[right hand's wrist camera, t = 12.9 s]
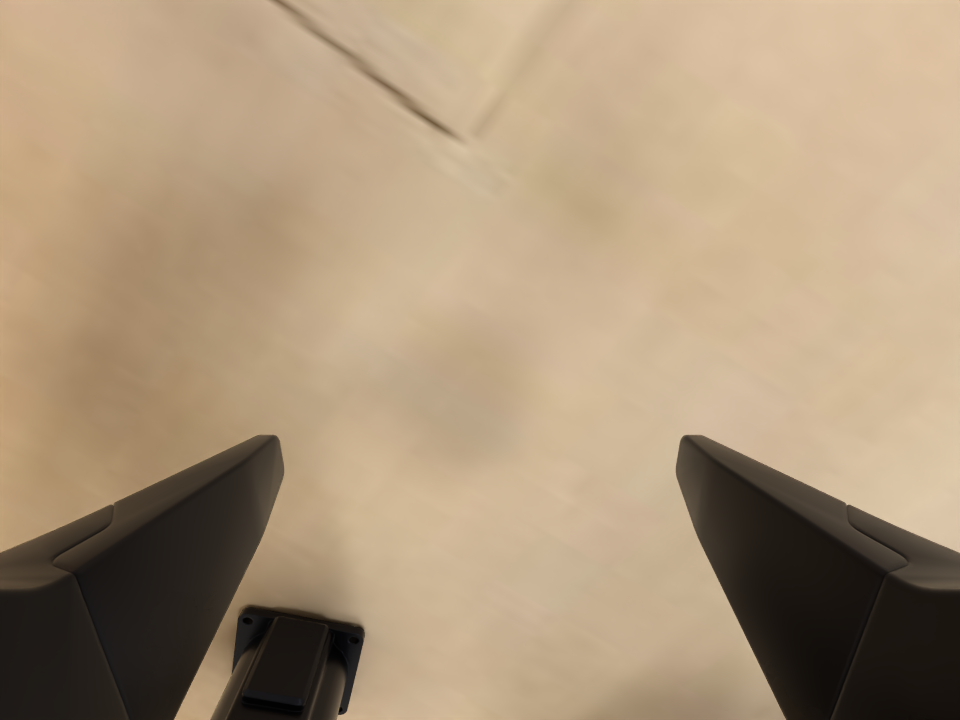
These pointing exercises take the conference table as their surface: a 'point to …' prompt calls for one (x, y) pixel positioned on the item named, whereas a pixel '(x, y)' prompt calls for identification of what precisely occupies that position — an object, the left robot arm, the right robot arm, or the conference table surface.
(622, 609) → the conference table surface
